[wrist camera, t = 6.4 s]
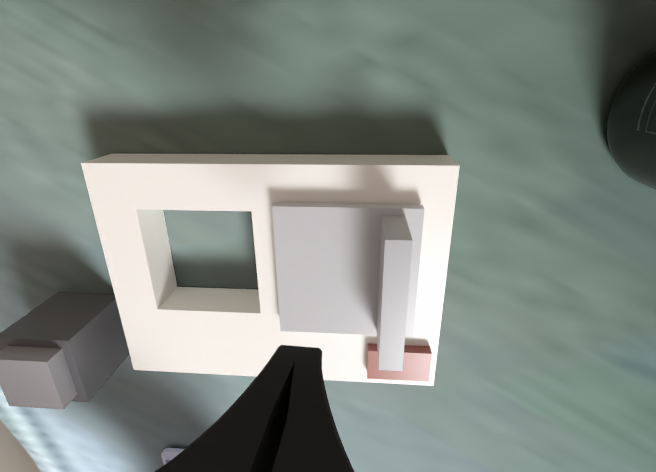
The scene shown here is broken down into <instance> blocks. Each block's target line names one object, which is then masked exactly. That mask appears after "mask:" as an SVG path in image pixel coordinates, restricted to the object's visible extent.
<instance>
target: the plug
mask: <svg viewBox="0 0 656 472" xmlns="http://www.w3.org/2000/svg"><path fill="white" fill-rule="evenodd" d="M129 354H130V353H129V349H128V345H127V342H126V338H125V334H124V330H123V326H122V322H121V318H120V314H119V310H118V306H117V302H116V298H115V294H92V293H63V292H58V293H57V294H55V295H54V296H52V297H51V298H50V299H48V300H47V301H45V302H44V303H43V304H41V305H40V306H38V307H37V308H35V309H34V310H33V311H31V312H30V313H28V314H27V315H26V316H24V317H23V318H21V319H20V320H18V321H17V322H16V323H14V324H13V325H11V326H10V327H9V328H7V329H6V330H4V331H3V332H1V333H0V385H1V388H2V390H3V392H4V395H5V397H6V399H7V402H8V404H9V406H20V407H36V408H53V409H65V407H66V406H67V405H68V404H69V403H70V402H71V401H80V402H89V401H90V400H91V398H92V397H93V396H94V395H95V394H96V393H97V391H98V390H99V389H100V388H101V387H102V385H103V384H104V383H105V382H106V381H107V380H108V378H109V377H110V376H111V375H112V374H113V372H114V371H115V370H116V369H117V368H118V367H119V365H120V364H121V363H122V362H123V361H124V359H125V358H126V357H127V356H128V355H129Z"/></svg>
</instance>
